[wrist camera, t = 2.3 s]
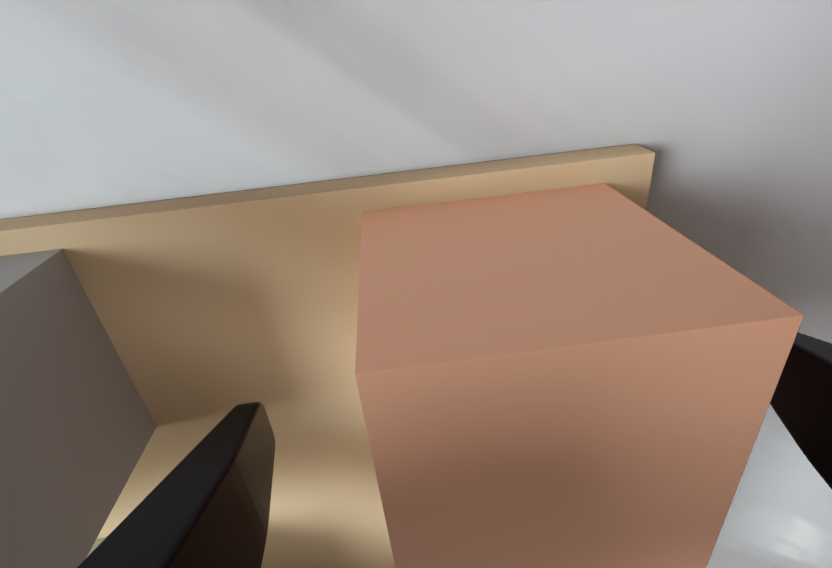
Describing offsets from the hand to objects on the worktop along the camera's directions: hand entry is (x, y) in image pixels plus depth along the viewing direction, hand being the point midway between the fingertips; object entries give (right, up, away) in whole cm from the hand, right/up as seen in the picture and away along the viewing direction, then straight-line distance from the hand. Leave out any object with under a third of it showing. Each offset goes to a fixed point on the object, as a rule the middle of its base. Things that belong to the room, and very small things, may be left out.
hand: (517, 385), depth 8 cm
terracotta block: (0, +1, +2) cm, 3 cm away
